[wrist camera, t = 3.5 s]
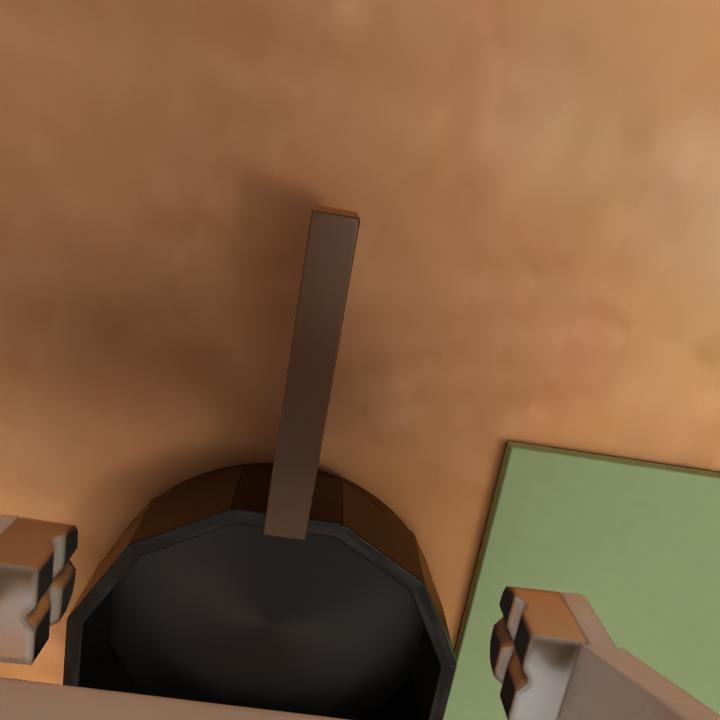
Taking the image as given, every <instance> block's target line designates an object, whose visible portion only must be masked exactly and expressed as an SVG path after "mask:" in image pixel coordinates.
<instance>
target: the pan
mask: <svg viewBox="0 0 720 720" xmlns="http://www.w3.org/2000/svg"><path fill="white" fill-rule="evenodd" d="M359 224H360V218H359V216H358V214H357V213H356V212H353V211H347V210H341V209H336V208H330V207H324V206H319V205H315V206H314V208H313V210H312V212H311V219H310V226H309V232H308V239H307V245H306V252H305V259H304V265H303V272H302V278H301V285H300V292H299V298H298V305H297V311H296V318H295V325H294V331H293V338H292V344H291V351H290V358H289V364H288V371H287V377H286V384H285V391H284V397H283V404H282V410H281V417H280V424H279V430H278V437H277V443H276V450H275V457H274V463H253V464H242V465H236V466H230V467H224V468H221V469H217V470H214V471H210V472H207V473H203V474H201V475H198V476H196V477H194V478H191V479H189V480H187V481H184V482H182V483H180V484H178V485H177V486H175V487H173V488H172V489H170V490H168V491H167V492H165V493H163V494H162V495H161V496H158V497H156V498H155V499H153V500H152V501H151V502H150V503H149V504H148V506H147V507H145V509H144V510H143V511H142V512H141V513H140V514H139V515H138V516H137V517H136V518H135V519H134V520H133V521H132V522H131V523H130V525H129V526H128V528H127V529H126V531H125V532H124V533H123V535H122V536H121V538H120V539H119V541H118V542H117V543H116V544H115V546H114V547H113V548H112V549H111V550H110V552H109V553H108V554H107V555H106V556H105V558H104V559H103V560H102V561H101V562H100V564H99V566H98V567H97V569H96V571H95V572H94V574H93V576H92V577H91V579H90V581H89V582H88V584H87V586H86V587H85V589H84V591H83V593H82V594H81V596H80V598H79V599H78V601H77V603H76V604H75V606H74V608H73V609H72V611H71V613H70V614H69V616H68V619H67V628H66V643H65V659H64V675H63V685H67V686H75V687H84V688H92V689H100V690H109V691H117V692H125V693H134V694H142V695H150V696H158V697H167V698H175V699H183V700H192V701H200V702H208V703H217V704H225V705H233V706H241V707H250V708H258V709H266V710H275V711H283V712H291V713H300V714H308V715H316V716H325V717H333V718H341V719H349V720H443V717H444V713H445V710H446V706H447V702H448V698H449V694H450V690H451V686H452V682H453V678H454V674H455V671H456V667H457V666H456V660H455V656H454V652H453V648H452V643H451V639H450V635H449V631H448V627H447V623H446V619H445V615H444V611H443V607H442V604H441V602H440V599H439V597H438V594H437V592H436V589H435V586H434V584H433V581H432V578H431V575H430V572H429V569H428V565H427V562H426V560H425V558H424V556H423V553H422V551H421V549H420V547H419V545H418V543H417V540H416V537H415V535H414V534H413V532H411V531H410V530H409V529H408V528H407V527H406V526H405V525H404V524H403V522H402V521H401V520H400V519H399V518H398V517H397V516H396V515H395V513H394V512H393V511H391V510H390V509H389V508H388V507H387V506H386V505H384V504H383V503H382V502H381V501H380V500H378V499H377V498H376V497H374V496H373V495H371V494H370V493H368V492H367V491H365V490H363V489H362V488H360V487H359V486H357V485H355V484H353V483H351V482H349V481H346V480H344V479H342V478H340V477H338V476H335V475H332V474H329V473H326V472H323V471H320V470H317V469H318V463H319V457H320V452H321V446H322V440H323V434H324V428H325V422H326V417H327V411H328V405H329V399H330V393H331V387H332V382H333V376H334V370H335V364H336V358H337V352H338V347H339V341H340V335H341V329H342V323H343V317H344V312H345V306H346V300H347V294H348V288H349V282H350V277H351V271H352V265H353V259H354V253H355V247H356V242H357V236H358V230H359Z"/></svg>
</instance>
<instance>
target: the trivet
mask: <svg viewBox="0 0 720 720" xmlns="http://www.w3.org/2000/svg"><path fill="white" fill-rule="evenodd" d="M506 586H511V587H520V588H529V589H538V590H547V591H556V592H567V593H577V594H582V595H584V596H585V597H586V598H587V599H588V601H589V603H590V604H591V606H592V608H593V609H594V611H595V613H596V614H597V616H598V618H599V619H600V621H601V623H602V624H603V626H604V628H605V629H606V631H607V633H608V634H609V636H610V638H611V639H612V641H613V643H614V644H615V646H616V648H619V649H625V650H626V651H628V652H629V653H631V654H632V655H634V656H635V657H636V658H638V659H639V660H641V661H642V662H644V663H645V664H647V665H648V666H649V667H651V668H652V669H654V670H655V671H657V672H658V673H660V674H661V675H662V676H664V677H665V678H667V679H668V680H670V681H671V682H673V683H674V684H675V685H677V686H678V687H680V688H681V689H683V690H684V691H686V692H687V693H688V694H690V695H691V696H693V697H694V698H696V699H697V700H699V701H700V702H701V703H703V704H704V705H706V706H707V707H709V708H710V709H712V710H713V711H715V712H716V713H717V714H719V715H720V473H718V472H712V471H705V470H698V469H692V468H685V467H678V466H672V465H665V464H658V463H652V462H645V461H638V460H632V459H625V458H618V457H612V456H605V455H598V454H592V453H585V452H578V451H572V450H565V449H558V448H552V447H545V446H538V445H532V444H525V443H518V442H512V441H508V443H507V446H506V450H505V454H504V458H503V462H502V466H501V470H500V474H499V478H498V482H497V486H496V490H495V494H494V498H493V502H492V506H491V509H490V513H489V517H488V521H487V525H486V529H485V533H484V537H483V541H482V545H481V549H480V553H479V557H478V561H477V565H476V569H475V573H474V577H473V580H472V584H471V588H470V592H469V596H468V600H467V604H466V608H465V612H464V616H463V620H462V624H461V628H460V632H459V636H458V640H457V644H456V648H455V651H454V656H455V660H456V666H457V667H456V671H455V674H454V678H453V682H452V686H451V690H450V694H449V698H448V702H447V706H446V710H445V713H444V717H443V720H507V717H506V713H505V710H504V707H503V704H502V701H501V698H500V691H501V688H502V684H501V683H500V682H499V681H498V680H497V679H496V678H495V677H494V675H493V672H492V668H491V663H490V640H491V635H492V631H493V627H494V624H495V623H497V622H498V621H499V620H500V619H501V618H502V617H503V614H502V611H501V608H500V606H499V604H500V600H501V596H502V593H503V591H504V589H505V587H506Z"/></svg>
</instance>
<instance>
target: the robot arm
mask: <svg viewBox="0 0 720 720" xmlns="http://www.w3.org/2000/svg"><path fill="white" fill-rule="evenodd" d="M77 541H78V531H77V528H76V526H74V525H68V524H62V523H55V522H49V521H43V520H36V519H30V518H24V517H21V518H20V517H19V516H12V515H3V514H0V662H6V663H17V664H27V665H32V663H33V662H34V660H35V659H36V657H37V655H38V654H39V652H40V651H41V649H42V648H43V646H44V645H45V643H46V642H47V640H48V638H49V626H51V625H53V624H55V623H57V622H59V621H60V619H61V618H62V616H63V614H64V613H65V611H66V609H67V606H68V604H69V601H70V598H71V596H72V592H73V587H74V582H75V571H76V569H75V567H74V566H73V564H72V563H71V561H70V560H69V559H70V557H71V556H72V554H73V553H74V551H75V550H76V549H77ZM499 606H500V608H501V611H502V614H503V617H502V618H501V619H500V620H499V621H498V622H497V623H495V624H494V627H493V631H492V635H491V640H490V663H491V668H492V672H493V675H494V677H495V678H496V679H497V680H498V681H499V682H500V683H501V684H502V688H501V691H500V698H501V701H502V704H503V707H504V710H505V713H506V717H507V720H720V715H719V714H717V713H716V712H715V711H713V710H712V709H710V708H709V707H707V706H706V705H704V704H703V703H701V702H700V701H699V700H697V699H696V698H694V697H693V696H691V695H690V694H688V693H687V692H686V691H684V690H683V689H681V688H680V687H678V686H677V685H675V684H674V683H673V682H671V681H670V680H668V679H667V678H665V677H664V676H662V675H661V674H660V673H658V672H657V671H655V670H654V669H652V668H651V667H649V666H648V665H647V664H645V663H644V662H642V661H641V660H639V659H638V658H636V657H635V656H634V655H632V654H631V653H629V652H628V651H626V650H625V649H619V648H616V646H615V644H614V643H613V641H612V639H611V638H610V636H609V634H608V633H607V631H606V629H605V628H604V626H603V624H602V623H601V621H600V619H599V618H598V616H597V614H596V613H595V611H594V609H593V608H592V606H591V604H590V603H589V601H588V599H587V598H586V597H585V596H584V595H582V594H577V593H567V592H556V591H547V590H538V589H529V588H520V587H511V586H506V587H505V589H504V591H503V593H502V596H501V600H500V604H499ZM0 720H349V719H341V718H333V717H325V716H316V715H308V714H300V713H291V712H283V711H275V710H266V709H258V708H250V707H241V706H233V705H225V704H217V703H208V702H200V701H192V700H183V699H175V698H167V697H158V696H150V695H142V694H134V693H125V692H117V691H109V690H100V689H92V688H84V687H75V686H67V685H59V684H51V683H42V682H34V681H26V680H17V679H9V678H1V677H0Z"/></svg>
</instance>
